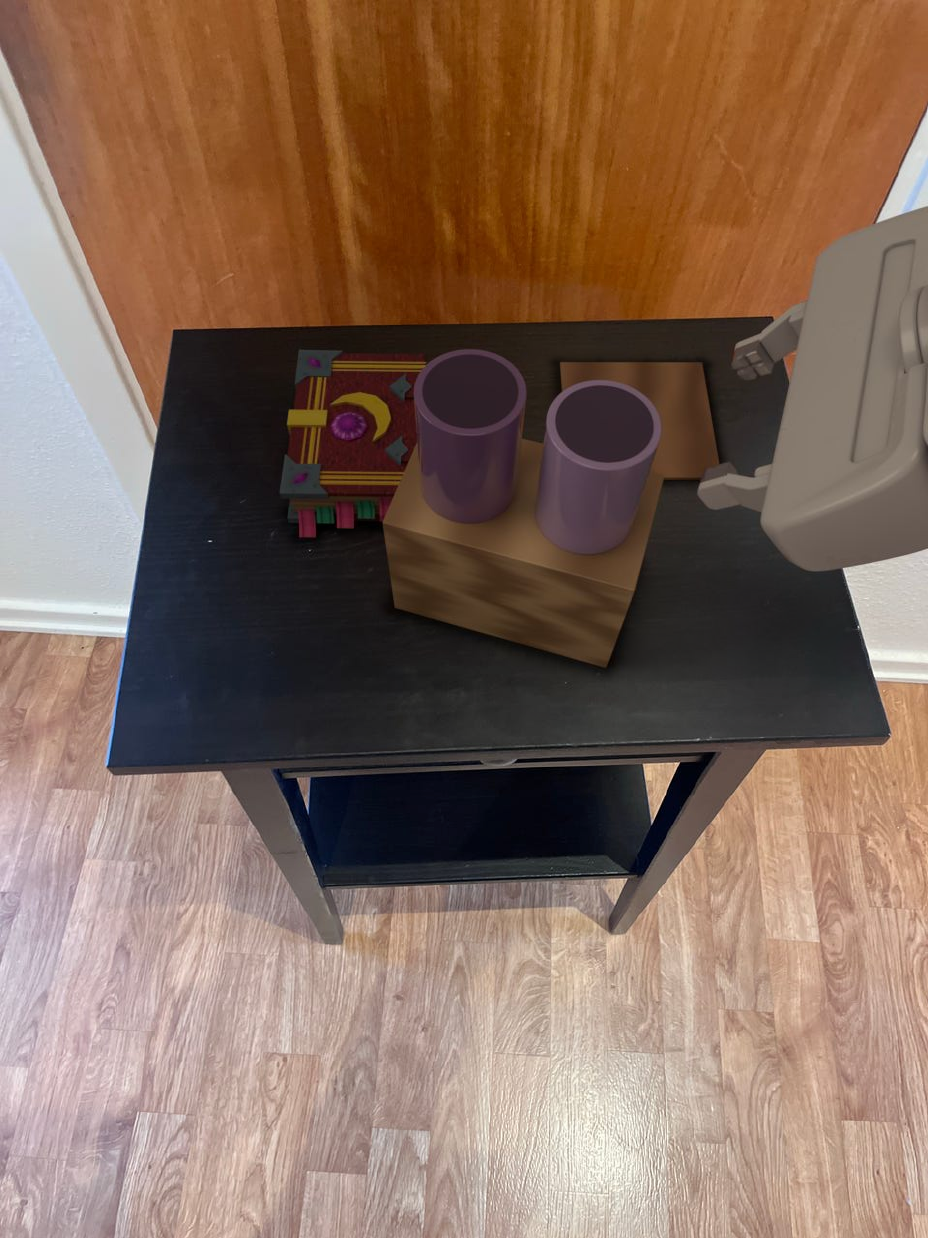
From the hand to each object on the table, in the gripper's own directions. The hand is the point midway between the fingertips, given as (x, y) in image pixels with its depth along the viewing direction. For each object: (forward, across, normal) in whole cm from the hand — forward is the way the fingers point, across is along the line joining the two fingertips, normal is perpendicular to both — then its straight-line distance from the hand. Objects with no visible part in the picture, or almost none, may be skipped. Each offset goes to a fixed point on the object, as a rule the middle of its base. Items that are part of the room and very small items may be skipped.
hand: (721, 424), depth 47 cm
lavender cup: (+12, +1, +3) cm, 12 cm away
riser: (+23, +1, +9) cm, 25 cm away
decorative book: (+35, -7, -3) cm, 35 cm away
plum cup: (+17, +1, -3) cm, 18 cm away
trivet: (+19, -19, +12) cm, 30 cm away
